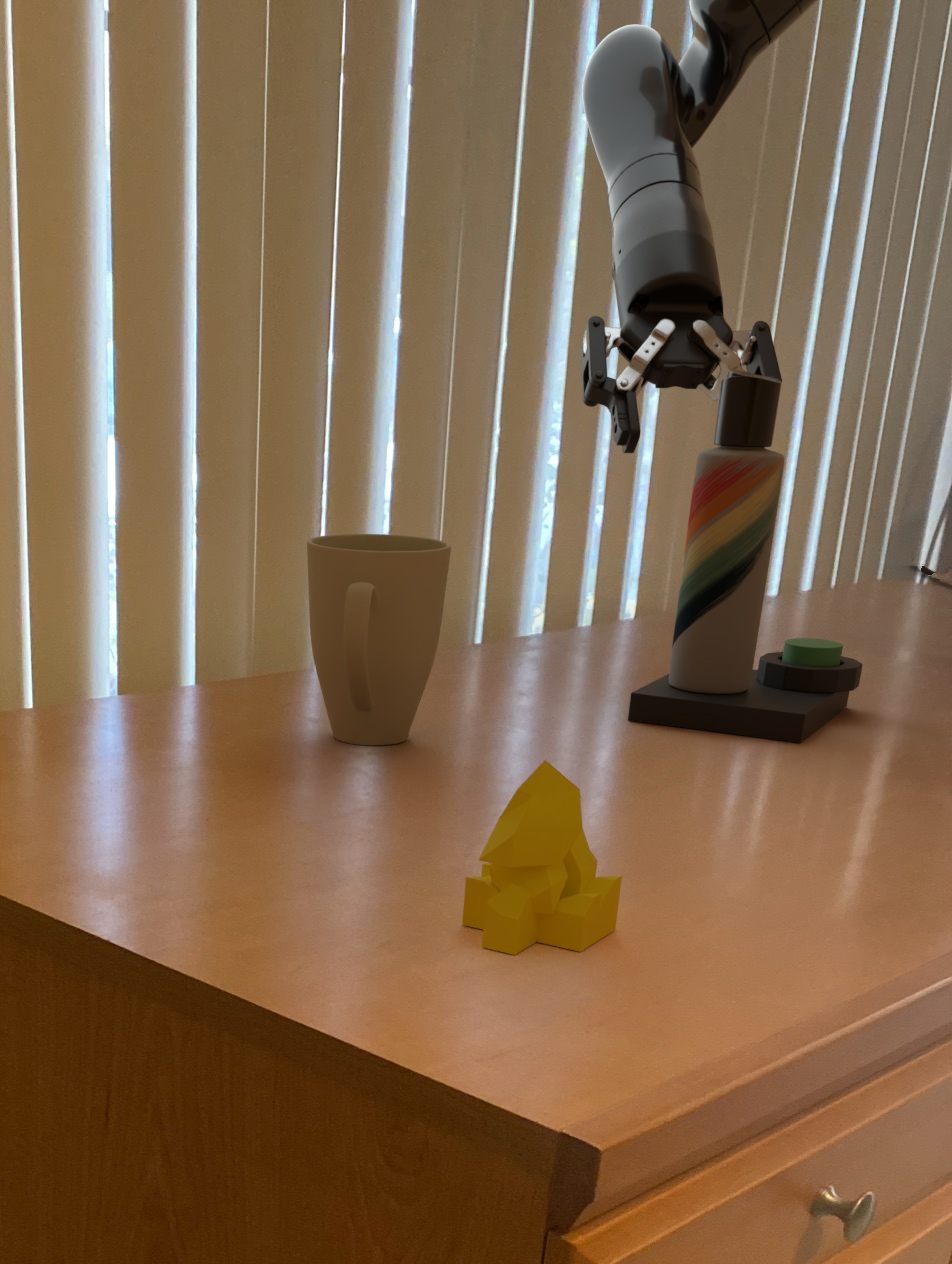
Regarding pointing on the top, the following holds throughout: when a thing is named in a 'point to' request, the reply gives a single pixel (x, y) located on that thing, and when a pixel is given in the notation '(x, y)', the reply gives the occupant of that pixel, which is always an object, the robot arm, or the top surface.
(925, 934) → the top surface
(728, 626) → the lotion bottle
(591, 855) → the yellow faceted pointed figurine
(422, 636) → the mug
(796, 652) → the button
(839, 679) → the scale
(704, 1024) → the top surface
